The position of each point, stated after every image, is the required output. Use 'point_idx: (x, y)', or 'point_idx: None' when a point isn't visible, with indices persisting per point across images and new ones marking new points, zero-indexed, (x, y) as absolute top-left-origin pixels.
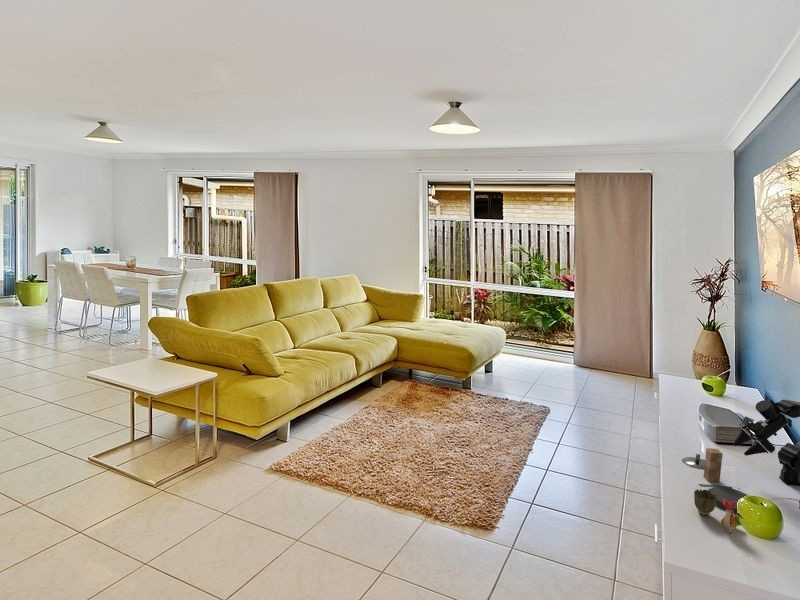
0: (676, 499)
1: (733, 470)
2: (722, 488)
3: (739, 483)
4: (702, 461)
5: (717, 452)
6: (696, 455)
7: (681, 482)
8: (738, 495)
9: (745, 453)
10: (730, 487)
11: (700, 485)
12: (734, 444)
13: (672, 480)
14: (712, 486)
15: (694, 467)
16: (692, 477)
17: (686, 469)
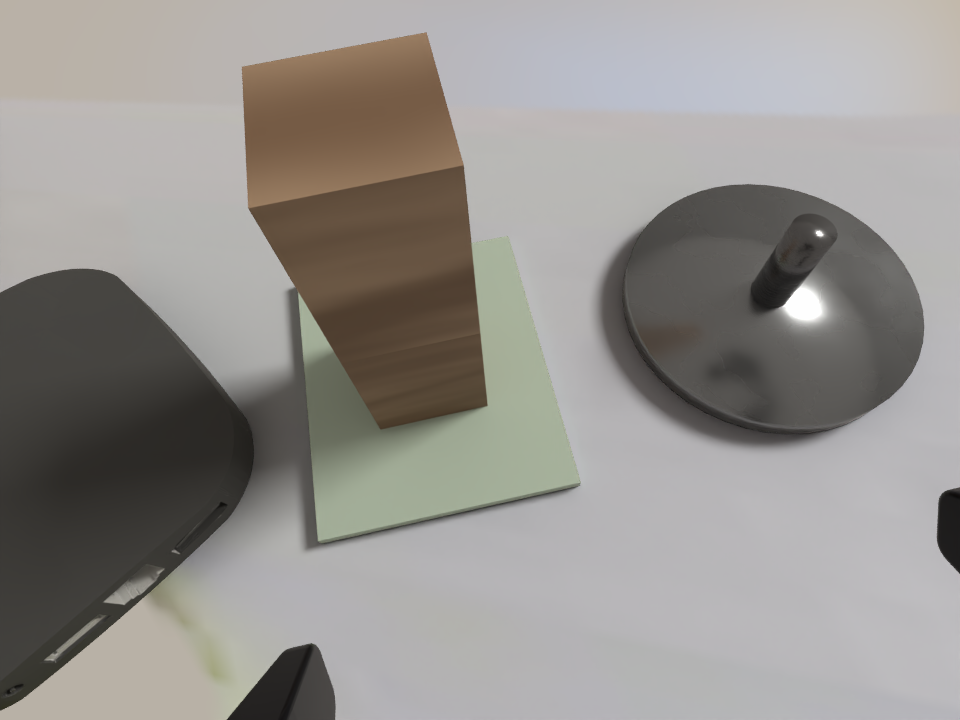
0: (61, 139)
1: (872, 664)
2: (165, 405)
3: (497, 655)
4: (853, 340)
5: (275, 142)
6: (793, 223)
7: None
8: (5, 526)
9: (270, 685)
10: (323, 521)
11: None
12: (954, 518)
13: None
14: (304, 365)
15: (642, 261)
16: None
17: (608, 222)
